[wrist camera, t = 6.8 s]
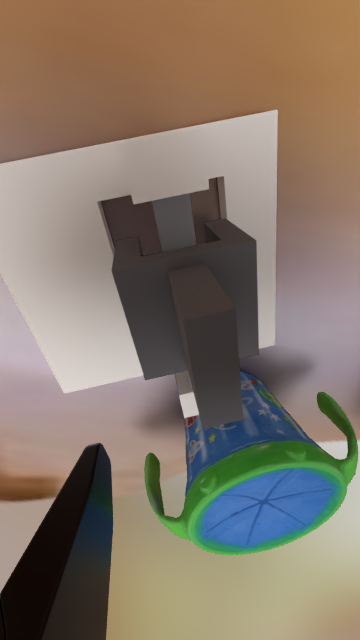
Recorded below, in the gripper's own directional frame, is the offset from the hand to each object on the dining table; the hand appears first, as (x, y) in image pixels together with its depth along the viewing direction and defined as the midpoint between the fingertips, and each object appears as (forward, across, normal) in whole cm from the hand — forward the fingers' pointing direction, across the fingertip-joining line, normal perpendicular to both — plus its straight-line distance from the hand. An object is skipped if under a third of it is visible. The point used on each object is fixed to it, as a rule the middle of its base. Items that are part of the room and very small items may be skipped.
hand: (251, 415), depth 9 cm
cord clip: (+10, +1, 0) cm, 10 cm away
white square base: (+13, +2, 0) cm, 13 cm away
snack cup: (+13, -2, +13) cm, 19 cm away
